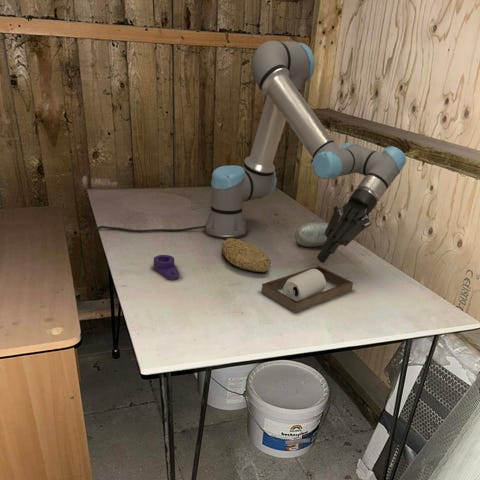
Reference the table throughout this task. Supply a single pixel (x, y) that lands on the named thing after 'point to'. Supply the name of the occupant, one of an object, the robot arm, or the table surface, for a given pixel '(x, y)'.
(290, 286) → the can
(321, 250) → the robot arm
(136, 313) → the table surface
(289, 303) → the walnut frame
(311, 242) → the streaked grey-green pebble
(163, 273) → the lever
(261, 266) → the sponge
